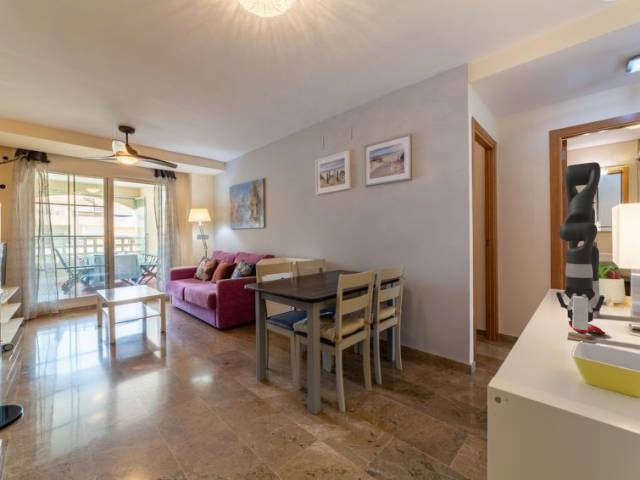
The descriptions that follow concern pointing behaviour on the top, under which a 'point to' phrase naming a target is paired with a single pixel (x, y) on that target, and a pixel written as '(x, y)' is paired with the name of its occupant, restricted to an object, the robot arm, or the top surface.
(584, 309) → the skincare box
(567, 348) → the top surface
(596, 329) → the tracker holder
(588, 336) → the coaster
